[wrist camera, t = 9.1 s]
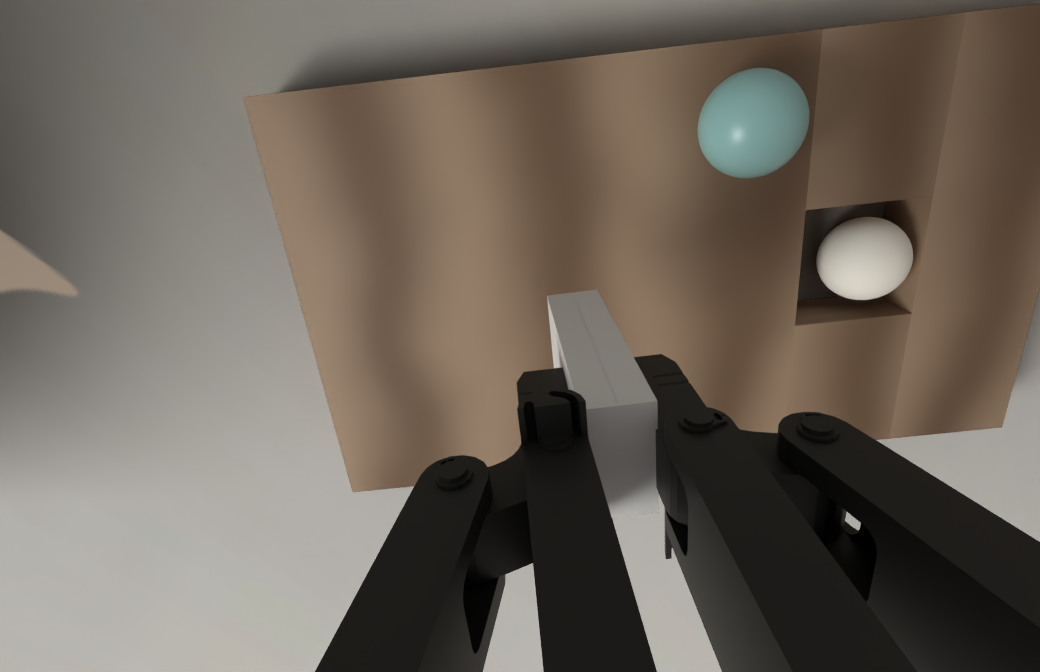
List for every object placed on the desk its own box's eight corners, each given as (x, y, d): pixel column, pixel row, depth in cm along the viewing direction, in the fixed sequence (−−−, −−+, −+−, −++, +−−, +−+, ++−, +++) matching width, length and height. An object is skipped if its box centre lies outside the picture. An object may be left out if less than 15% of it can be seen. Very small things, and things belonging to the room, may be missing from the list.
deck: (365, 458, 27) (352, 492, 25) (272, 96, 21) (242, 97, 18) (958, 398, 26) (1002, 427, 24) (1048, 5, 20) (1119, -6, 18)
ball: (923, 309, 21) (879, 282, 24) (939, 223, 20) (891, 206, 22) (832, 314, 21) (800, 287, 24) (842, 230, 20) (807, 213, 23)
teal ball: (684, 176, 20) (716, 191, 17) (685, 76, 18) (719, 72, 15) (776, 166, 20) (824, 178, 17) (784, 64, 18) (836, 58, 15)
